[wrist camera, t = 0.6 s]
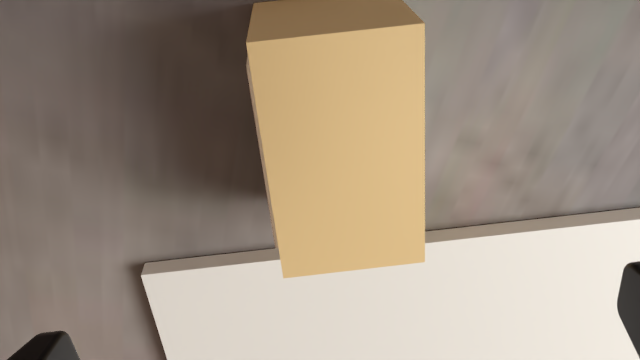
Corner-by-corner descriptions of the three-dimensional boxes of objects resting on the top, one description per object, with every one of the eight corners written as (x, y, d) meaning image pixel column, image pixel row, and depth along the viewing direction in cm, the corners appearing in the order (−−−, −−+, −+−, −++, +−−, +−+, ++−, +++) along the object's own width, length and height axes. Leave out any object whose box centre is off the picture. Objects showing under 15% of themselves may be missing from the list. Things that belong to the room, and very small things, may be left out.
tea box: (389, -13, 18) (425, 23, 14) (395, 184, 22) (425, 262, 18) (249, 2, 18) (239, 43, 14) (278, 198, 22) (278, 278, 18)
